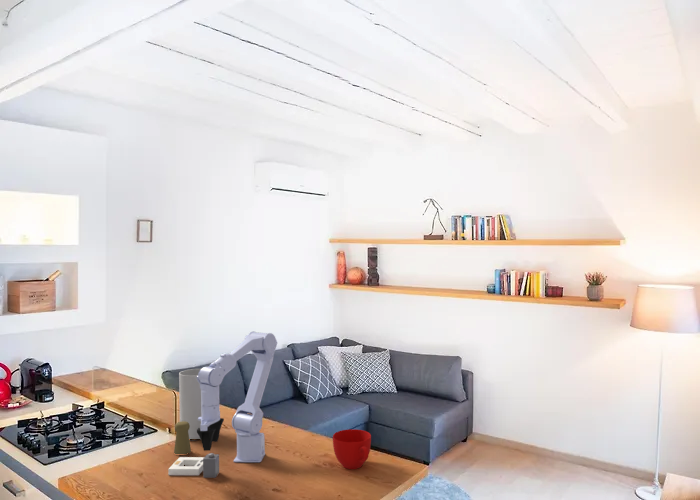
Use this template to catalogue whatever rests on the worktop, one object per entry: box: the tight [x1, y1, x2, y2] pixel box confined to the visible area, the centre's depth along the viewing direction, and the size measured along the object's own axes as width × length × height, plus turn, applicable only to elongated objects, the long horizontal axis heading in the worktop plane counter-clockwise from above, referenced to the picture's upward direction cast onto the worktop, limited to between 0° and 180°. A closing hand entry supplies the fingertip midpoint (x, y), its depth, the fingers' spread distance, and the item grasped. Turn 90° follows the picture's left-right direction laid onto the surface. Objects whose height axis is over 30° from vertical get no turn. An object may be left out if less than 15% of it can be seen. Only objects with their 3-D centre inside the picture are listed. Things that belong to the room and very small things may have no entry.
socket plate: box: [167, 456, 205, 476], centre depth 180 cm, size 10×10×2 cm
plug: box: [202, 452, 220, 479], centre depth 175 cm, size 4×4×7 cm
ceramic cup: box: [332, 428, 372, 470], centre depth 180 cm, size 13×17×10 cm
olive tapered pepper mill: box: [173, 421, 192, 455], centre depth 195 cm, size 6×6×11 cm
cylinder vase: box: [178, 368, 202, 440], centre depth 213 cm, size 12×12×25 cm
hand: (210, 445), depth 175 cm, fingers open, 7 cm apart
